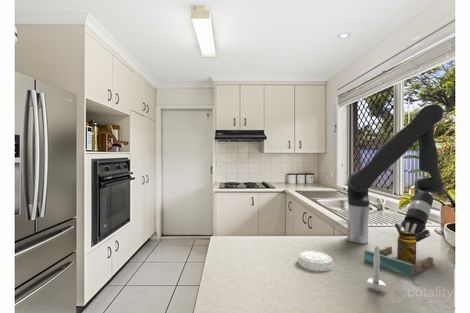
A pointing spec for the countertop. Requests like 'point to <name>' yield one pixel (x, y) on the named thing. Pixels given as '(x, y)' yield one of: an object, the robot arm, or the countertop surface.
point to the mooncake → (315, 261)
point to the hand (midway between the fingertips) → (405, 247)
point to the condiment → (406, 247)
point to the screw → (376, 273)
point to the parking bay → (397, 262)
